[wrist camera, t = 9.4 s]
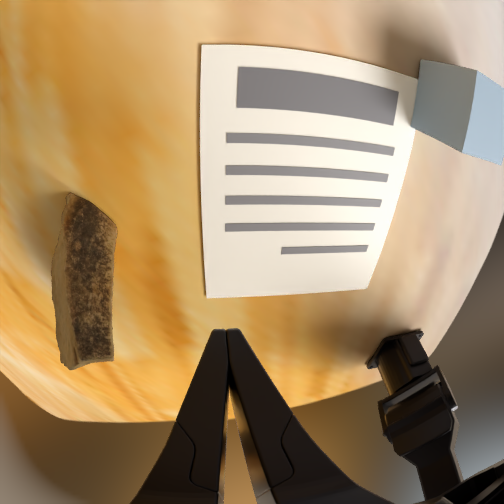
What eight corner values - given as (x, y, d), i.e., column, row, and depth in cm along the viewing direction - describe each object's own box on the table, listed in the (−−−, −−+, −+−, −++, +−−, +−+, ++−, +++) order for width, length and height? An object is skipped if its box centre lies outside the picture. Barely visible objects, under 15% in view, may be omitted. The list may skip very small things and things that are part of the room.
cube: (454, 139, 16) (501, 165, 13) (410, 126, 16) (461, 152, 12) (465, 80, 14) (515, 97, 10) (420, 59, 13) (476, 70, 9)
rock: (127, 352, 23) (191, 309, 18) (55, 398, 15) (90, 375, 11) (71, 252, 23) (114, 181, 19) (-5, 275, 16) (9, 192, 11)
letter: (365, 287, 24) (367, 289, 24) (206, 296, 23) (206, 298, 23) (422, 80, 14) (424, 81, 14) (201, 45, 12) (201, 44, 12)
